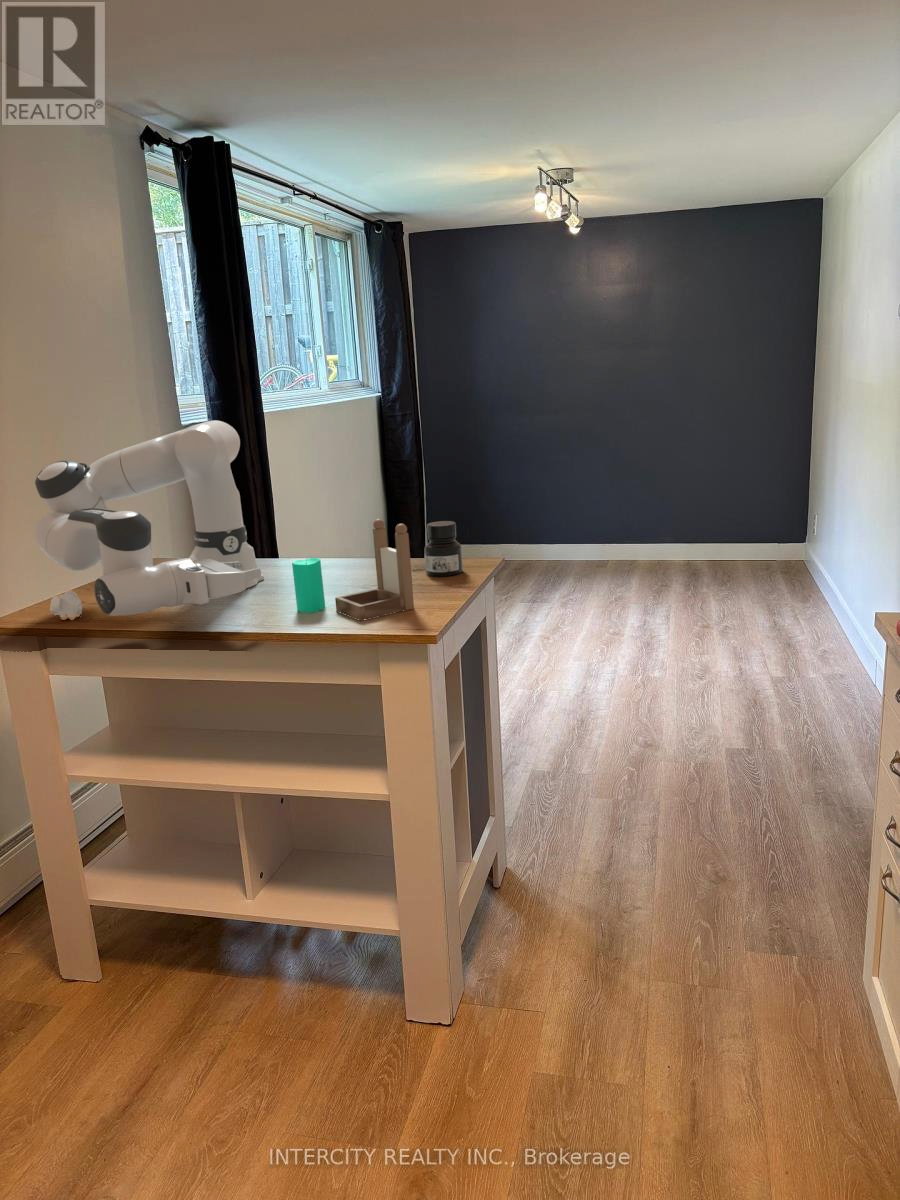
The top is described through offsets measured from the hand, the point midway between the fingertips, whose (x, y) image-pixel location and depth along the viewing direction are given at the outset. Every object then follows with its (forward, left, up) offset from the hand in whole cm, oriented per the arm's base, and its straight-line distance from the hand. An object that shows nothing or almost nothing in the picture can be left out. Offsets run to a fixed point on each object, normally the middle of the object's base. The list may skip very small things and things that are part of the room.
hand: (250, 568), depth 191 cm
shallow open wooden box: (+11, +21, -11) cm, 26 cm away
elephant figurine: (-34, -29, -11) cm, 47 cm away
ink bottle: (-5, +51, -11) cm, 52 cm away
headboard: (+11, +27, -11) cm, 31 cm away
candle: (0, +13, -11) cm, 17 cm away
